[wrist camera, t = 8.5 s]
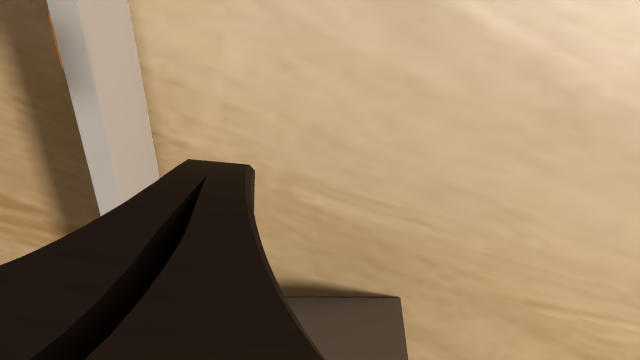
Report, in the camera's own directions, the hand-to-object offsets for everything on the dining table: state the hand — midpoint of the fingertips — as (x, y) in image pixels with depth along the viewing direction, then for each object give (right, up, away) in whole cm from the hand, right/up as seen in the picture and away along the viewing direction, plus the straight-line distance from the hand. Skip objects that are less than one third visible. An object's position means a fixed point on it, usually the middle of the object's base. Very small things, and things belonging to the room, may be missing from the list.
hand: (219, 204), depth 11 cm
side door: (-5, +1, +10) cm, 11 cm away
